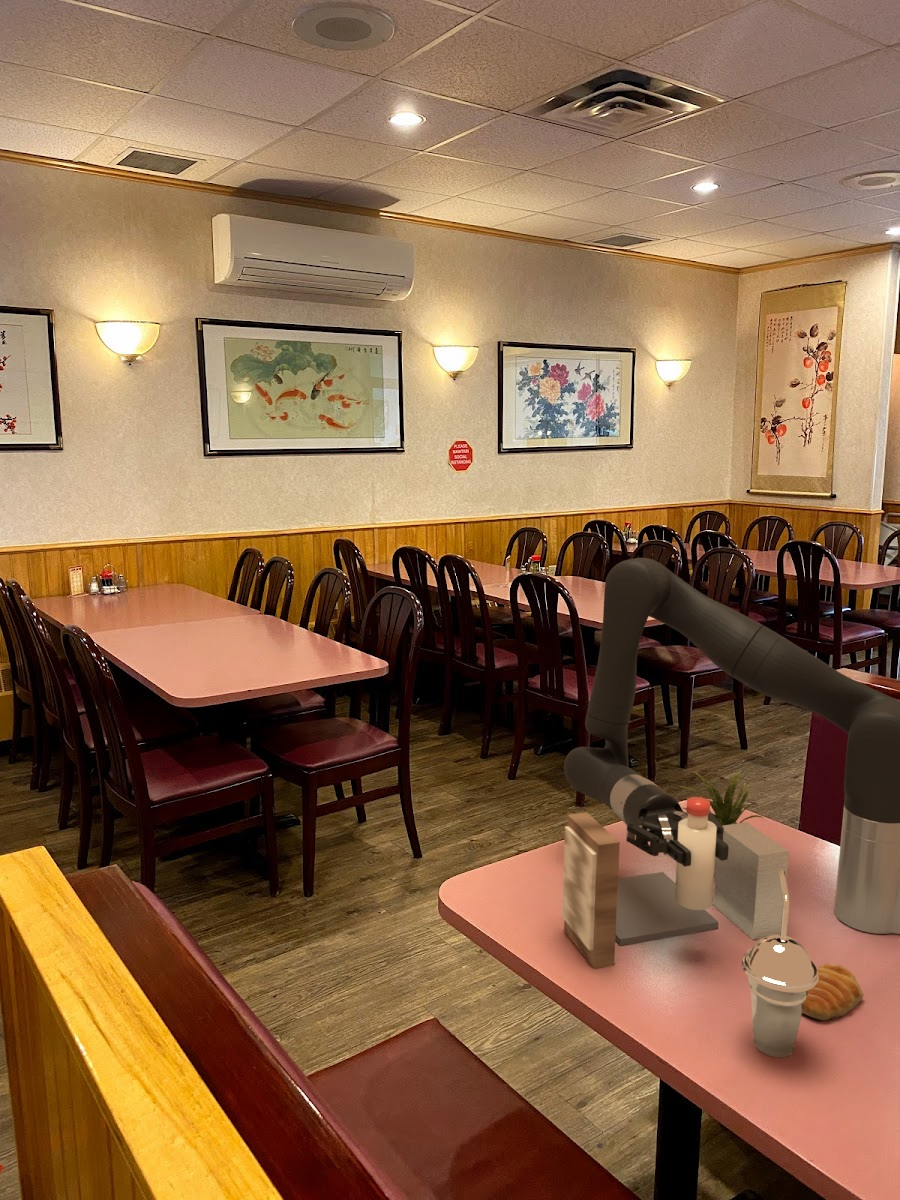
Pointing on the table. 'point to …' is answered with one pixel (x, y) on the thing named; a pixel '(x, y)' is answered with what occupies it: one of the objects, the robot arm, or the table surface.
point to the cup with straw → (778, 986)
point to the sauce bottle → (696, 857)
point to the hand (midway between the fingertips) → (707, 856)
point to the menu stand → (590, 888)
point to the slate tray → (654, 911)
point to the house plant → (726, 803)
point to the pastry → (832, 993)
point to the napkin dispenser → (751, 880)
